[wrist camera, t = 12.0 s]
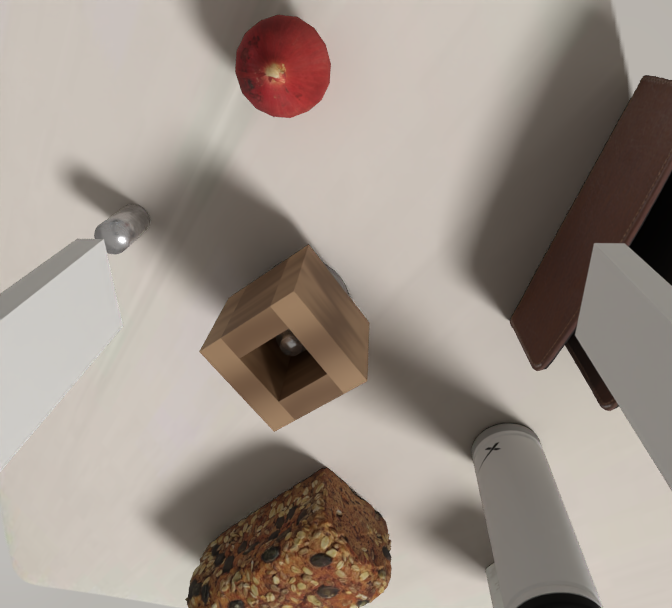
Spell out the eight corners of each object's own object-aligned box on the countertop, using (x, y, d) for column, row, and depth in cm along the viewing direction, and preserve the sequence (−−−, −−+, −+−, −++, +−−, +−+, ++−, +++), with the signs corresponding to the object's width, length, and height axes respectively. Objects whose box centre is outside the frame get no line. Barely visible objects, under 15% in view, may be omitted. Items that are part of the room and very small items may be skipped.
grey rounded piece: (117, 204, 43) (91, 222, 39) (147, 204, 43) (124, 222, 39) (123, 233, 44) (98, 254, 40) (152, 233, 44) (130, 254, 40)
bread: (267, 589, 63) (249, 682, 54) (199, 537, 60) (167, 627, 51) (395, 520, 57) (398, 612, 48) (326, 457, 53) (315, 544, 44)
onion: (266, 119, 39) (241, 140, 32) (236, 32, 37) (202, 34, 30) (344, 94, 38) (336, 111, 31) (319, 3, 36) (305, -1, 28)
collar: (228, 297, 44) (199, 351, 36) (308, 244, 41) (293, 291, 34) (290, 368, 46) (274, 431, 39) (369, 322, 44) (367, 381, 37)
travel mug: (467, 423, 50) (515, 644, 32) (542, 420, 49) (634, 644, 32) (467, 474, 53) (511, 704, 35) (538, 473, 52) (620, 706, 34)
